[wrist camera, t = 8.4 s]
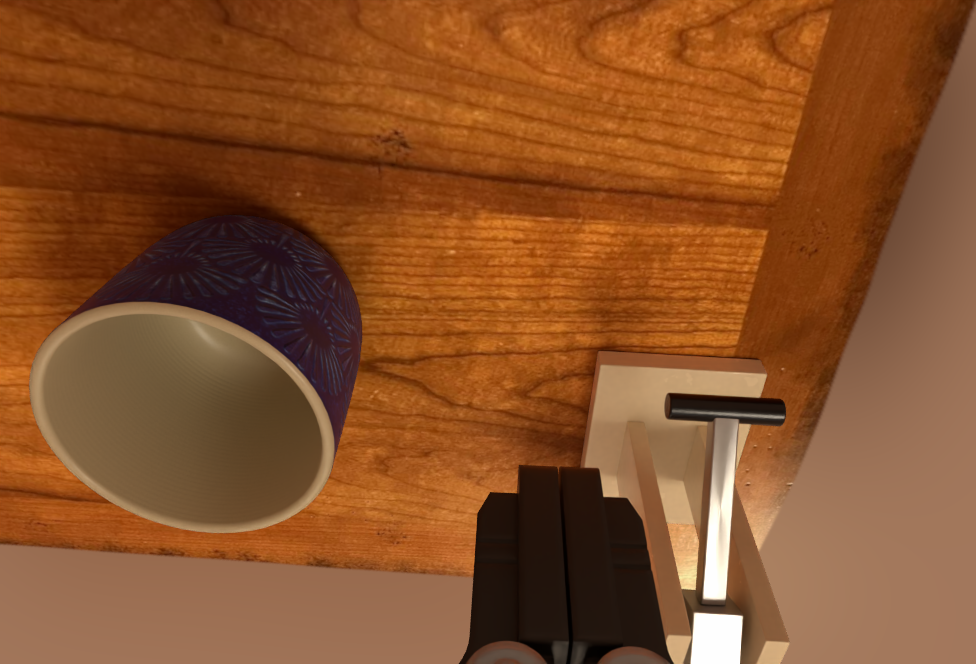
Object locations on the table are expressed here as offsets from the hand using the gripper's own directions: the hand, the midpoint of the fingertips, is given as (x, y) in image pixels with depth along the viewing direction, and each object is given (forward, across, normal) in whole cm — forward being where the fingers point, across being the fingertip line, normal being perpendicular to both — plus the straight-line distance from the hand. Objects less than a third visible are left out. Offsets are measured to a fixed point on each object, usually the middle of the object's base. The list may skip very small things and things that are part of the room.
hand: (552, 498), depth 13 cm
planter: (+23, +14, +10) cm, 29 cm away
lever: (+13, -9, +15) cm, 22 cm away
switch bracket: (+23, -9, +18) cm, 30 cm away
